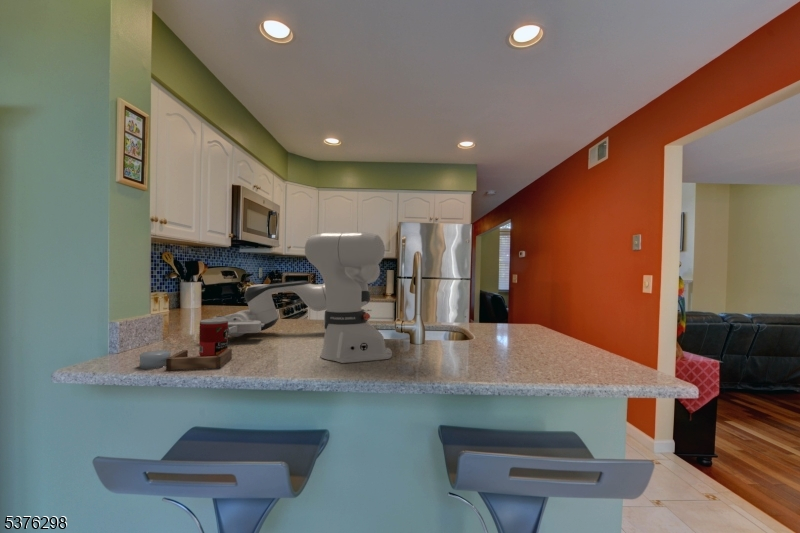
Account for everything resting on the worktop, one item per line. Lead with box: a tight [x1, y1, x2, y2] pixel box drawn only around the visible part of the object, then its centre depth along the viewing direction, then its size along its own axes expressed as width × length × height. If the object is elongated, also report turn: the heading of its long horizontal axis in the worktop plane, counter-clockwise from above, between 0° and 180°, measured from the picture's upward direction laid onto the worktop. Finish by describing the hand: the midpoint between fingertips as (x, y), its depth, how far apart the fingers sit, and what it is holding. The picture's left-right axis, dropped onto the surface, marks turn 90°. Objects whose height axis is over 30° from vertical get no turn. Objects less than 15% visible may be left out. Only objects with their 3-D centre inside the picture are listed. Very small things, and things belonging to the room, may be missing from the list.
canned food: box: [198, 318, 229, 357], centre depth 108 cm, size 8×8×11 cm
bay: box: [165, 348, 233, 371], centre depth 98 cm, size 13×10×3 cm
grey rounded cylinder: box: [139, 349, 171, 370], centre depth 96 cm, size 7×7×4 cm
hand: (225, 330), depth 119 cm, fingers closed
